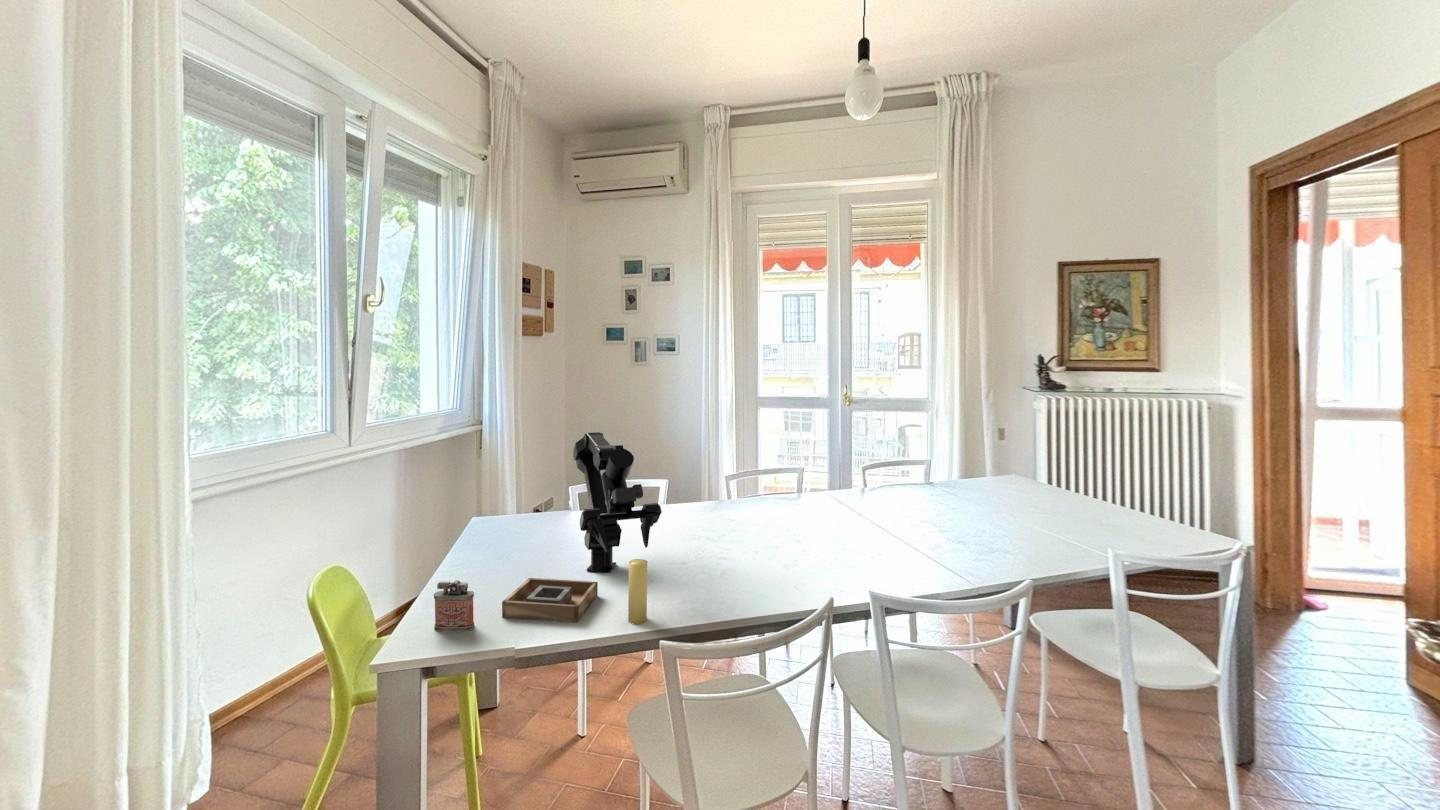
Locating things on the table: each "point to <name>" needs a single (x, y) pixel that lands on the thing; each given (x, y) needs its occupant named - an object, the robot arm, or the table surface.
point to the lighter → (453, 607)
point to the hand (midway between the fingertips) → (627, 549)
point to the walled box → (550, 600)
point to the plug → (637, 591)
